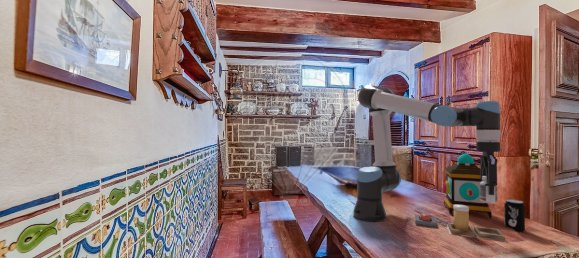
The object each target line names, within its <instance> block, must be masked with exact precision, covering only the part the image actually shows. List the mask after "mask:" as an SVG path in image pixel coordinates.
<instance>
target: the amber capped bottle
mask: <svg viewBox="0 0 579 258" xmlns="http://www.w3.org/2000/svg"><path fill="white" fill-rule="evenodd" d="M453 209H454V210H453V224H454V229H456V230H464V231H469V226H470V222H469V221H470V220H469V219H470V217H469V215H470V214H469V212H470V211H469V207H468V206H465V205H453Z"/></svg>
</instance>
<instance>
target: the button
mask: <svg viewBox="0 0 579 258" xmlns="http://www.w3.org/2000/svg"><path fill="white" fill-rule="evenodd" d="M419 216H420V220H425V221H431V217H432V216H431V214H430V213H424V212H423V213H420V214H419Z"/></svg>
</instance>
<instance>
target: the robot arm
mask: <svg viewBox="0 0 579 258" xmlns="http://www.w3.org/2000/svg"><path fill="white" fill-rule="evenodd" d="M357 99H358V103H359V105H361V106H362V107H364V108H365V109H368V114H369V115H370V116H371V117H372V133H373V148H374V162H373V163H372V166H364V167H363V166H362V167H360V168H359V169H358V170H357V173H356V175H357V176H356V201H355V205H354V208H353V211H352V212H353V217H354V216H355V217H354V218H356V219H358V220H361V221H366V222H381V220H382V221H385V220H386V219H387V213H386V209H385V207H384V203H383V193H385V192H390V191H394V190H395V189H397V188H398V187H399V186H400V185H401V182H402V176H401V172H400V171H399V170H398V168H397V164H396V163H395V162H394V161H393V150H392V149H393V148H392V135H391V134H392V133H391V132H392V131H391V121H390V120H391V118H390V116H391V113H397V114H400V115H404V116H408V117H412V118H415V119H420V120H423V121H425V122H431V123H433V124H436V125H438V126H442V127H449V128H455V127H475V139H476V143H475V145H476V146H475V148H476V151H477V152H482V155H480V156H479V158H480V160H479V162H480V169H481V178H480V179H481V181H483V180H482V176H486V179H487V184H485V186H486V203H488V204H490V205H491V204H493V205H495V204H496V203H495V186H497V187H498V158H497V157H496V156H495V153H499V152H501V142H500V141H501V136H502V135H503V132H501V107H500V106H501V105H500V102H498V100H497V101H496V100H483V101H477V102H476V104H475V106H473V107H461V108H460V107H456V106H455V107H453V106H448V105H444V104H441V103H440V104H439V103H438V104H437V103H434V102H429V101H425V100H421V99H416V98H411V97H407V96H402V95H399V94H398V95H397V94H395V92H393V91H392V90H391V89H390V88H387V87H384V86H379V85H378V86H377V85H373V84H369V85H365V86H363V87H362V88H361V89H360V90H359V91H358V93H357ZM384 219H385V220H384Z"/></svg>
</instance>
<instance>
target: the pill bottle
mask: <svg viewBox="0 0 579 258" xmlns="http://www.w3.org/2000/svg"><path fill="white" fill-rule="evenodd" d="M482 180H483V181H482V182H480V201H482V202H485V203H486V186H485V184H487V179H486V176H482ZM495 204H498V185H497V186H495Z"/></svg>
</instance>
